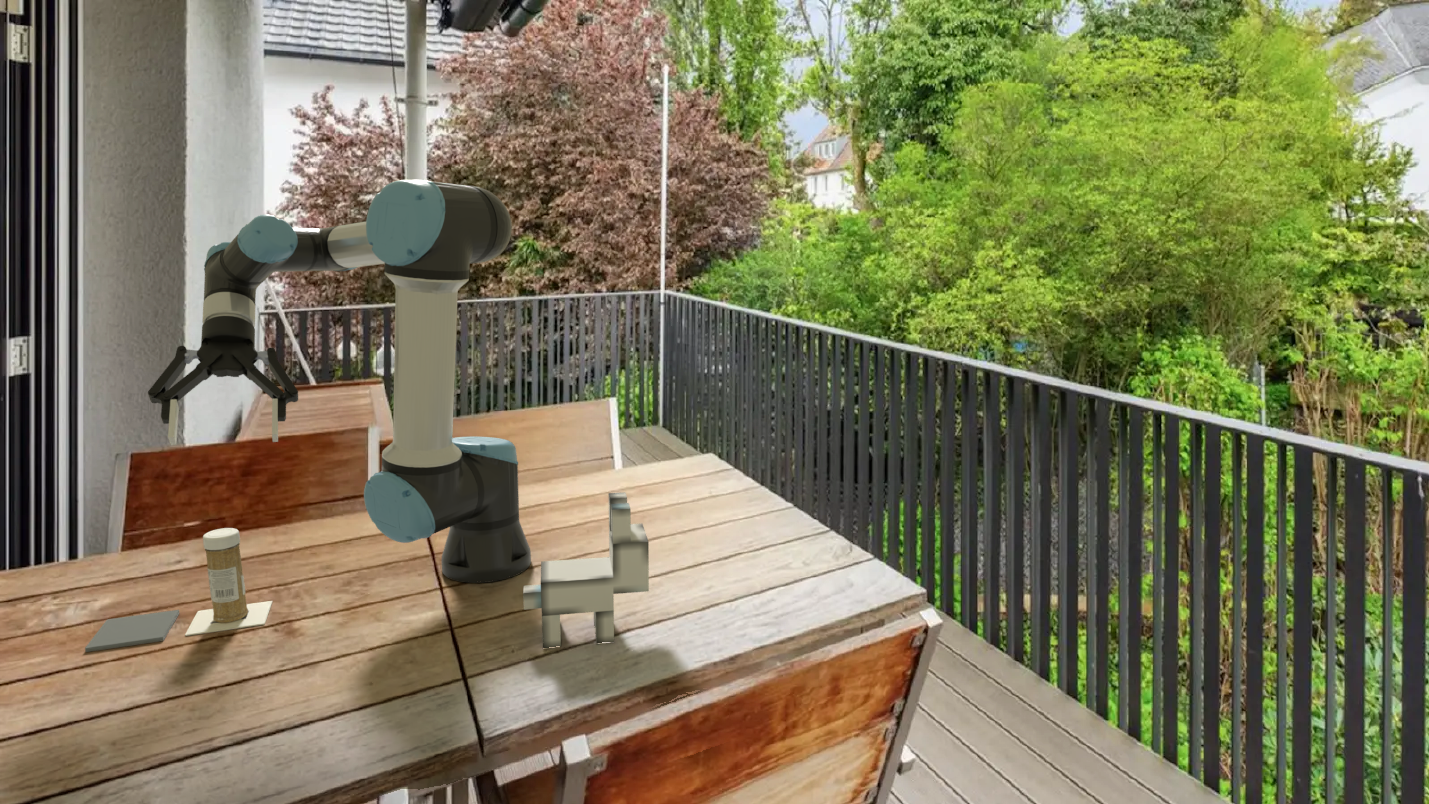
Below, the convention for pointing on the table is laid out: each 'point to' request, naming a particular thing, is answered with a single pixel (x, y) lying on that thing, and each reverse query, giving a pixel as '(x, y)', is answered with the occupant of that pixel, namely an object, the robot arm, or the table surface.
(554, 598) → the toy llama
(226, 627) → the tile
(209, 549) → the sprinkles bottle
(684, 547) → the table surface
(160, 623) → the coaster
